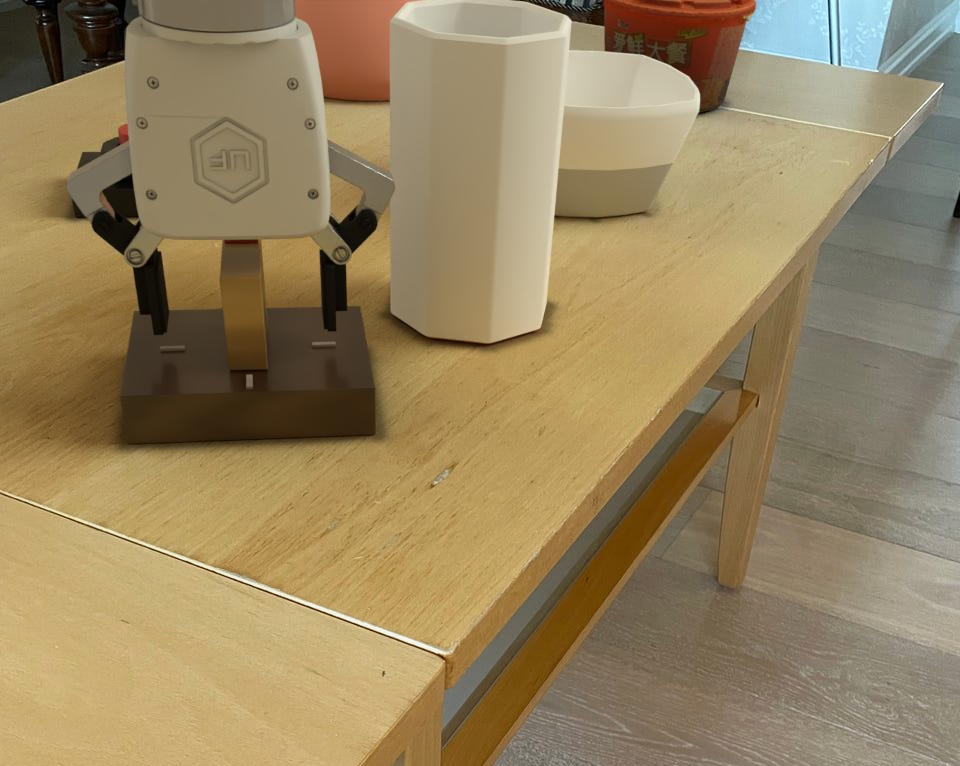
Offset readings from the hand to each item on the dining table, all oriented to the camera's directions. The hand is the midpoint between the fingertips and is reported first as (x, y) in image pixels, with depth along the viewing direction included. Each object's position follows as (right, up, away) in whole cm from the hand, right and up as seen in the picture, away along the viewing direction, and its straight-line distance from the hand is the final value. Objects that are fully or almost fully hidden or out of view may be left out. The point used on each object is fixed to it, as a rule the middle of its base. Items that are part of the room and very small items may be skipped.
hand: (246, 323), depth 67 cm
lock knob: (0, -1, +1) cm, 1 cm away
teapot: (+2, +41, +56) cm, 69 cm away
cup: (+13, +4, +14) cm, 19 cm away
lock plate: (0, -4, +3) cm, 4 cm away
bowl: (+22, +20, +33) cm, 44 cm away
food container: (+33, +40, +57) cm, 77 cm away
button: (-13, +21, +25) cm, 35 cm away
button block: (-13, +18, +27) cm, 35 cm away
